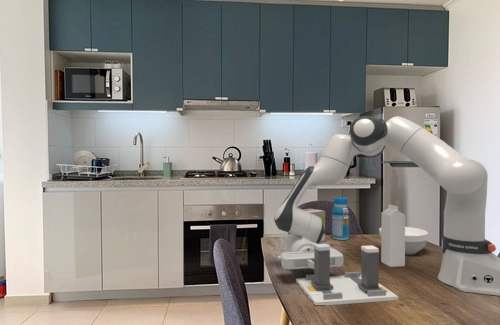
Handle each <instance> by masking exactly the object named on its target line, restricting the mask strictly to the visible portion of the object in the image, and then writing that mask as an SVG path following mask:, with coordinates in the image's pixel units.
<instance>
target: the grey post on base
mask: <svg viewBox="0 0 500 325" xmlns="http://www.w3.org/2000/svg"><path fill="white" fill-rule="evenodd" d="M360 250H361V252H360V253H361V255H360V256H361V258H360V265H361V268H360V269H361V270H360V271H361V283H359V284H358V287H359V288H361V289H362V290H363V291H364V292H366V293H367V290H382V288H380V287H379V284H380V282H379V279H380V278H379V277H380V276H379V271H380V270H379V267H380V266H379V265H380V264H379V263H380V262H379V260H380V259H379V258H380V257H379V256H380V254H379V252H380V249H379V248H378V247H376V246H374V245H360Z"/></svg>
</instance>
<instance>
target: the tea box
mask: <svg viewBox="0 0 500 325" xmlns="http://www.w3.org/2000/svg"><path fill="white" fill-rule="evenodd" d="M302 210H304V211H306V212H309V213H311V214H314V215H316V216H318V217H320V218H321V219H322V221H323V224H324V234H323V237H322V239H321V241H320V242H325V241H326V211H325V210H322V209H315V208H305V209H302ZM288 233H289V232H288ZM289 234H291V233H289ZM289 234H288V235H289ZM320 242H319V243H320Z"/></svg>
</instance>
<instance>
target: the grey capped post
mask: <svg viewBox="0 0 500 325" xmlns="http://www.w3.org/2000/svg"><path fill="white" fill-rule="evenodd" d="M327 244H328V243H320V244H314V269H313V272H314V281H311V284H312V285H313V286H314V287H315V288H316V290H325V289H333V285H331V284H330V276H331V269H330V268H331V267H330V247H331V245H330V246H328V245H327Z"/></svg>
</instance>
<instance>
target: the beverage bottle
mask: <svg viewBox="0 0 500 325" xmlns="http://www.w3.org/2000/svg"><path fill="white" fill-rule="evenodd" d="M348 200H349V198H348V197H346V196H345V197H344V196H343V197H342V196H337V197H336V196H335V197H333V205H334V206H333V207H332V210H331V213H332V214H331V238H332V239H334V240H338V241H346V240H349V238H350V215H349V213H350V210H349V208H348V206H347V205H348V203H349V202H348Z"/></svg>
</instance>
